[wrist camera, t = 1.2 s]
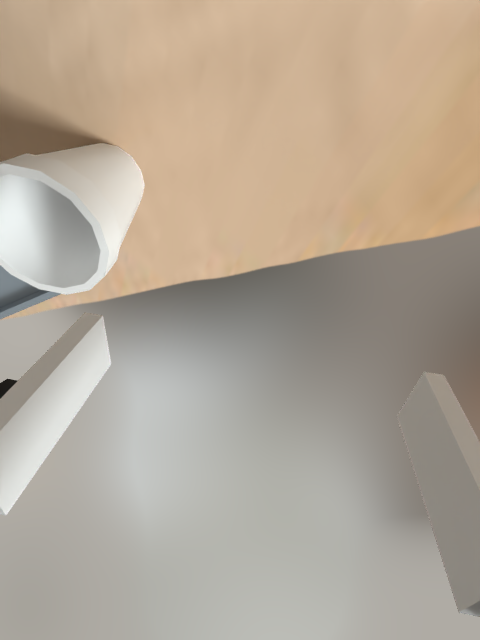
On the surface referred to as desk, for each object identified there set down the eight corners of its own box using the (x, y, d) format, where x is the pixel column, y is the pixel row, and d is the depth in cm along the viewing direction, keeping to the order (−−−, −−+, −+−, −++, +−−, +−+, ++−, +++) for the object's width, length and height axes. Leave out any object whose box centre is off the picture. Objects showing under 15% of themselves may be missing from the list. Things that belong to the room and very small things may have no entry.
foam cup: (99, 98, 27) (0, 127, 18) (178, 184, 32) (135, 247, 22) (47, 172, 32) (-55, 229, 22) (122, 239, 36) (65, 312, 26)
